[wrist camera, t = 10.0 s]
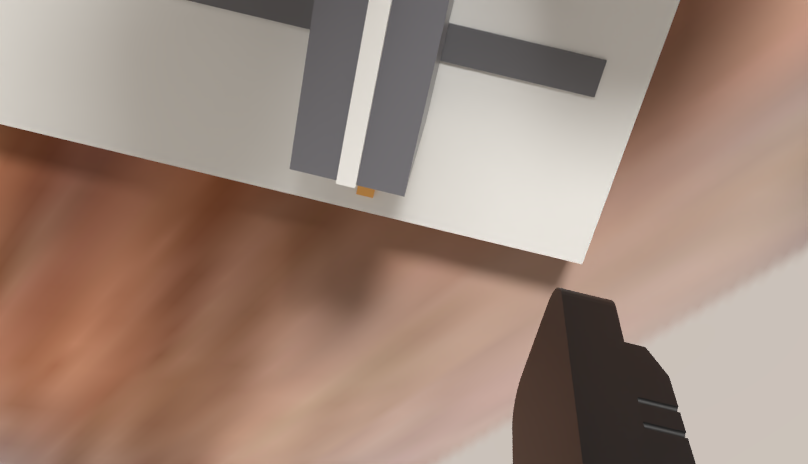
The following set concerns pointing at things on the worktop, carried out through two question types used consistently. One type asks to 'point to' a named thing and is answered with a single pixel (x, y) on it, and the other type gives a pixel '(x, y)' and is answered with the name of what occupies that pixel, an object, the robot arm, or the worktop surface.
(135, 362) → the worktop surface
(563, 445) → the robot arm
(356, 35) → the fader cap
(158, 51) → the console board
